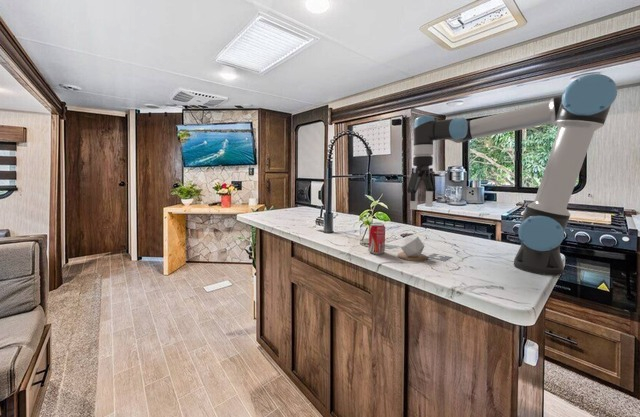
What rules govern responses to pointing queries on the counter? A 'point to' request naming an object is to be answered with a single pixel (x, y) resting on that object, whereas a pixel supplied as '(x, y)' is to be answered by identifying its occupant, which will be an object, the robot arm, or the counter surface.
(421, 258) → the coaster
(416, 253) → the die
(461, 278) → the counter surface
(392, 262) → the counter surface
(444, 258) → the tile
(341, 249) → the counter surface
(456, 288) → the counter surface
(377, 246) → the soda can
